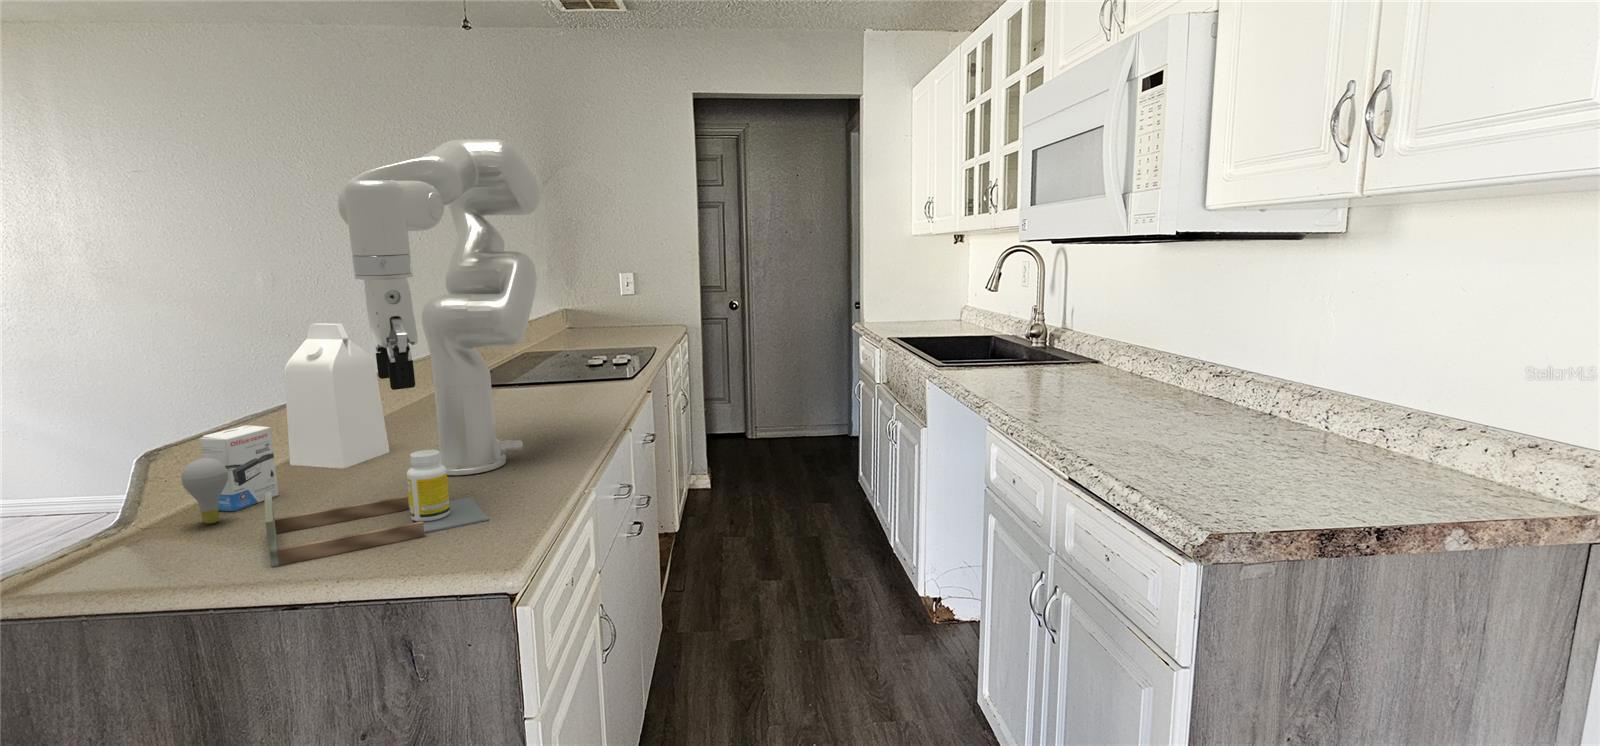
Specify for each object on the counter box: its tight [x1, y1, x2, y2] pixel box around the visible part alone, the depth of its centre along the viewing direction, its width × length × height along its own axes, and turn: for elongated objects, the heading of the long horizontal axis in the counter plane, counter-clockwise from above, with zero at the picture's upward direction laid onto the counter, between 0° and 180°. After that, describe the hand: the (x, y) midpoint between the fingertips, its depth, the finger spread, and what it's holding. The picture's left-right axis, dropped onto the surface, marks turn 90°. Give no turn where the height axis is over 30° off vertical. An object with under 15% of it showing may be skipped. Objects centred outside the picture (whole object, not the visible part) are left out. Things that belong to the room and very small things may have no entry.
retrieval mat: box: [408, 497, 490, 534], centre depth 119 cm, size 9×12×1 cm
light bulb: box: [181, 457, 228, 526], centre depth 116 cm, size 5×6×10 cm
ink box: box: [199, 425, 279, 512], centre depth 125 cm, size 8×5×12 cm, turn 168°
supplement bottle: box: [406, 449, 450, 522], centre depth 117 cm, size 5×5×10 cm
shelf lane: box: [264, 492, 426, 568], centre depth 111 cm, size 18×15×6 cm
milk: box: [284, 323, 390, 469], centre depth 149 cm, size 12×12×26 cm
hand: (396, 382), depth 118 cm, fingers open, 9 cm apart
